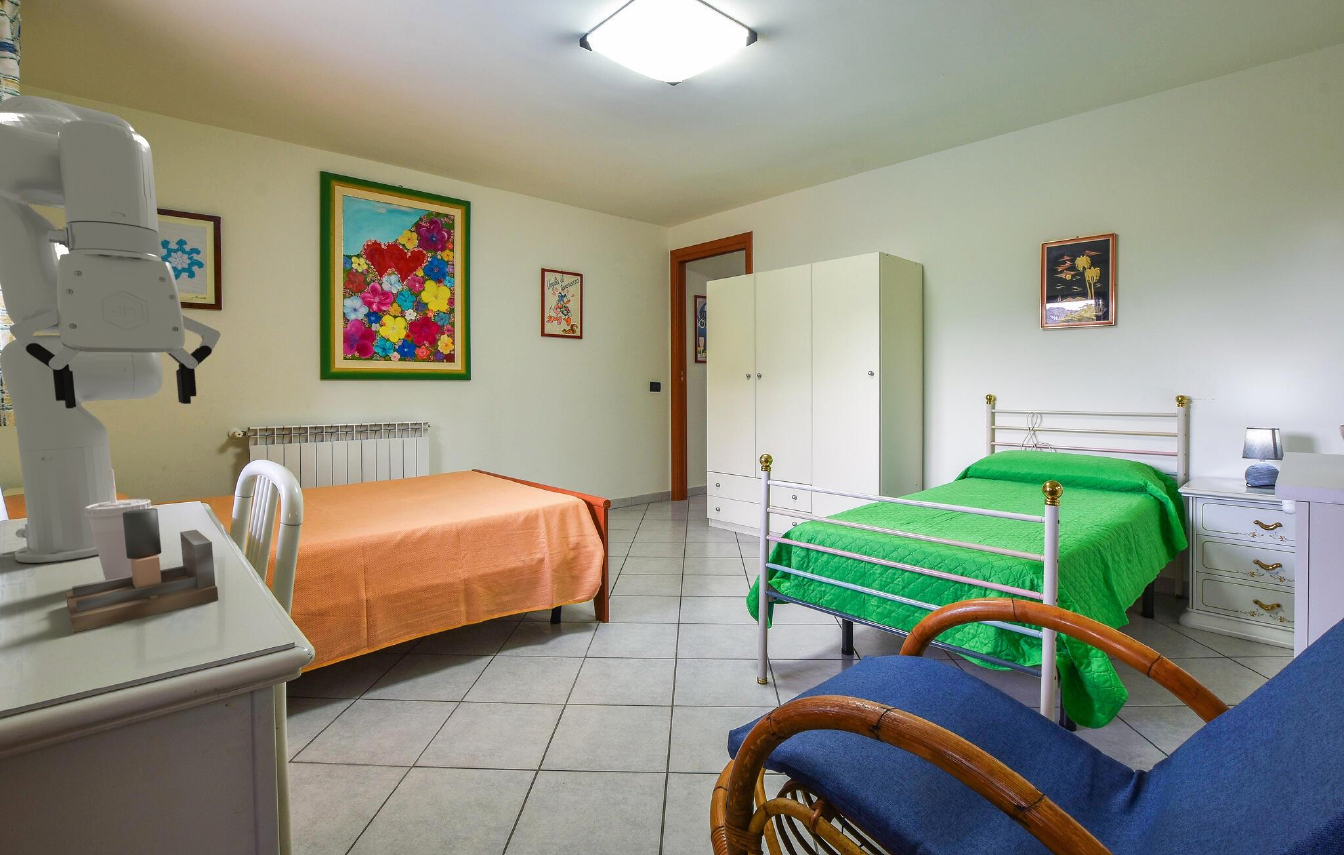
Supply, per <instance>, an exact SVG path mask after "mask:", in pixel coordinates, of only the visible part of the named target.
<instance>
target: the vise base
mask: <svg viewBox="0 0 1344 855" xmlns="http://www.w3.org/2000/svg"><path fill="white" fill-rule="evenodd" d="M179 534H180V547H181V556H182V558H181V559H182V565H180V566H176V567H170V568H164V569H160V572H161V584H156V585H151V586H146V587H141V588H135V586H134V585H133V579H132V576H126V577H121V578H116V579H110V580H105V579H104V580H100V581H94V582H88V583H85V584H79V585H74V586H71V588H72V591H67V592H65V597H66V599H65V600H66V605H67V611H68V616H69V619H70V625H71V628H72V633H77V632H81V631H87V630H90V629H91V630H92V629H95V628H100V627H103V626H104V627H105V626H108V625H112V624H116V623H117V624H118V623H121V622H126V621H130V620H134V619H139V618H143V617H149V616H153V615H158V614H161V613H162V614H163V613H166V612H172V611H176V610H180V609H184V608H188V607H193V606H198V605H202V604H207V603H211V602H214V601H219V593H218V592H219V591H218V586H217V585H216V578H215V565H214V564H215V563H214V553H213V551H214V550H213V542H212V541H211V540H210V539H208V538H207V537H206V536H205V535H204V534H202V533H201V532H200V531H199V530H197V529H192V530H191V529H190V530H185V531H179Z"/></svg>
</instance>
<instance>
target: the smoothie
mask: <svg viewBox="0 0 1344 855" xmlns="http://www.w3.org/2000/svg"><path fill="white" fill-rule="evenodd" d="M108 479H109V489H110V499H111V501H109V502H102V503H97V504H93V505H89V506H87V507H85V508H84V511H85V515H84V516H86V517H88V518H89V521H90V526H91V530H92V533H93V536H94V540H95V544H96V547H97V551H98V555H97V556H98V557H99V562H100V565H101V568H102V573H103V576H104V581H105V580H110V579H116V578H121V577H126V576H132V569H131V559H128V558H127V555H126V544H125V534H124V524H123V514H122V513H124V512H127V511H131V510H137V509H147V508H153V506H152V503H151V502H152V501H151V500H150V499H148V498H131V499H130V498H129V499H128V498H127V499H117V491H116V490H117V489H116V482H115V471H114V469H113V468H112V469H109V470H108Z"/></svg>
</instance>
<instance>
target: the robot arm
mask: <svg viewBox="0 0 1344 855" xmlns="http://www.w3.org/2000/svg"><path fill="white" fill-rule="evenodd" d="M134 129H135V128H133V126H132V125H131V124H130V123H129V122H127V121H126V120H125V119H123V118H121V117H120V116H118V115H116V114H112V113H110V112H106V111H105V112H104V111H100V110H97V109H92V108H89V107H83V106H81V105H80V106H79V105H77V104H73V103H72V104H71V103H69V102H63V101H59V100H55V99H51V98H46V97H42V96H36V95H28V94H27V95H16V96H12V97H9V98H6V99H5V100H3V101H2V102H0V289H1V294H2V300H3V304H4V308H5V311H6V313H7V315H8V317H9V319H10V320H11V321H12V325H10V326H9V332H10V334H11V335H12V336H13V337H14V339H13V340H11V341H10V342H8V343H7V344H6V345H5V346H3V348H2V349H1V351H0V371H1V375H2V378H3V381H4V385H5V387H6V391H7V392H8V397H9V399H10V403H11V407H12V412H13V417H14V422H15V426H16V427H15V428H16V436H17V443H18V450H19V460H20V470H21V478H22V486H23V488H22V489H23V495H24V496H23V498H24V505H25V512H26V514H25V515H26V523H25V524H24V528H21V527H20V528H18V529H17V530H16V531H15V536H16V537H17V538H20V539H21V538H22V539H23V538H24V539H26V540H25V541H26V546H25V547H21V548H19V549H18V550H16V551H15V552H14V556H15V557H14V558H15V561H17V562H19V563H26V564H27V563H28V564H29V563H30V564H31V563H32V564H35V563H36V564H37V563H52V562H63V561H68V560H70V561H71V560H75V559H82V558H88V557H93V556H99V555H98V551H97V547H96V544H95V540H94V536H93V533H92V530H91V526H90V521H89V518H88V517H86V516H84V515H85V511H84V508H85V507H87V506H89V505H93V504H97V503H102V502H109V501H111V499H110V489H109V479H108V470H109V469H113V468H112V456H111V449H110V448H111V446H110V438H109V433H108V430H107V428H106V426H105V425H104V424H103V422H102V421H101V420H100V419H98V417H96V416H95V415H94V414H92V413H91V412H90V411H88V410H87V409H86V408H85V407H83V405H82V403H85V402H95V401H97V402H98V401H118V400H119V401H120V400H121V401H122V400H125V401H126V400H140V399H147V398H151V397H153V396H155V395H157V394H158V393H159V392H160V391H161V389H162V387H163V383H164V370H163V363H162V357H161V353H166V354H167V355H168V356H169V357H170V358H171V359H173V360H174V361H175V363H178V369H177V370H175V375H176V384H177V385H176V387H177V399H178V403H181V404H183V405H189V404H192V399H191V397H197V385H196V384H197V383H196V373H195V369H197V367H198V366H199V365H200V364H201V363H202V362H203V361H204V360H206V359H207V358H208V357H209V356H210V355H211V354H212V352H213V350H214V348H215V347H216V345H217V343H218V341H219V339H220V338H221V332H220V331H219V330H217V329H215V328H213V327H210V326H208V325H206V324H203V323H201V322H199V321H197V320H194V319H193V318H191V317H188V316H186V315H183V311H182V304H181V298H180V294H179V288H178V283H177V280H176V277H175V273H174V270H173V267H172V264H171V263H170V262H168V261H162V255H161V244H160V243H161V241H160V234H159V233H160V231H159V230H160V229H159V219H158V210H157V209H158V208H157V207H158V206H157V196H156V185H155V172H154V162H153V153H152V149H151V145H150V144H149V142H148V141H147V140H146V138H144V136H142V135H141V134H139V133H137V132H136V131H135V130H134ZM30 205H33V206H39V207H41V206H42V207H47V208H48V207H49V208H53V209H54V208H55V209H63V210H64V215H65V216H64V217H65V225H66V226H64V227H62V229H60V228H59V227H57V226H56V225H55V224H54V223H52V222H51V221H50V219H47V218H46V217H45V216H44V215H42V214H40V213H39V212H37V211H36V210H35V209H34V208H32V206H30ZM185 330H186V331H188V332H190V333H193V334H195V335H198V336H199V337H200V338H201V342H200V343H199V346H198V347H197V348H196V349H195V350H193V351H192V352H191V353H189V352H188V351H187V350H186V349H184V348H183V347H184V346H185V341H186V334H185ZM35 332H36V333H37V332H38V333H45V335H44V334H43V335H39V334H38V335H34V333H35ZM47 333H49V334H47ZM52 334H53V335H52ZM55 334H57V335H55ZM58 334H59V335H58Z"/></svg>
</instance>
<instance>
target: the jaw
mask: <svg viewBox="0 0 1344 855" xmlns="http://www.w3.org/2000/svg"><path fill="white" fill-rule="evenodd" d="M158 512H159V510H158V508H157V507H156V508H155V507H152V508H147V509H137V510H131V511H127V512H124V513H122V514H123V524H124V534H125V544H126V555H127V558H128V559H131V569H132V579H133V585H134V586H135V588H141V587H146V586H151V585H156V584H161V572H160V570H161V563H160V561H161V560H160V557H159V556H160V554H162V546H161V534H160V533H161V532H160V523H159V522H160V521H159V513H158ZM158 555H159V556H158Z"/></svg>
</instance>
